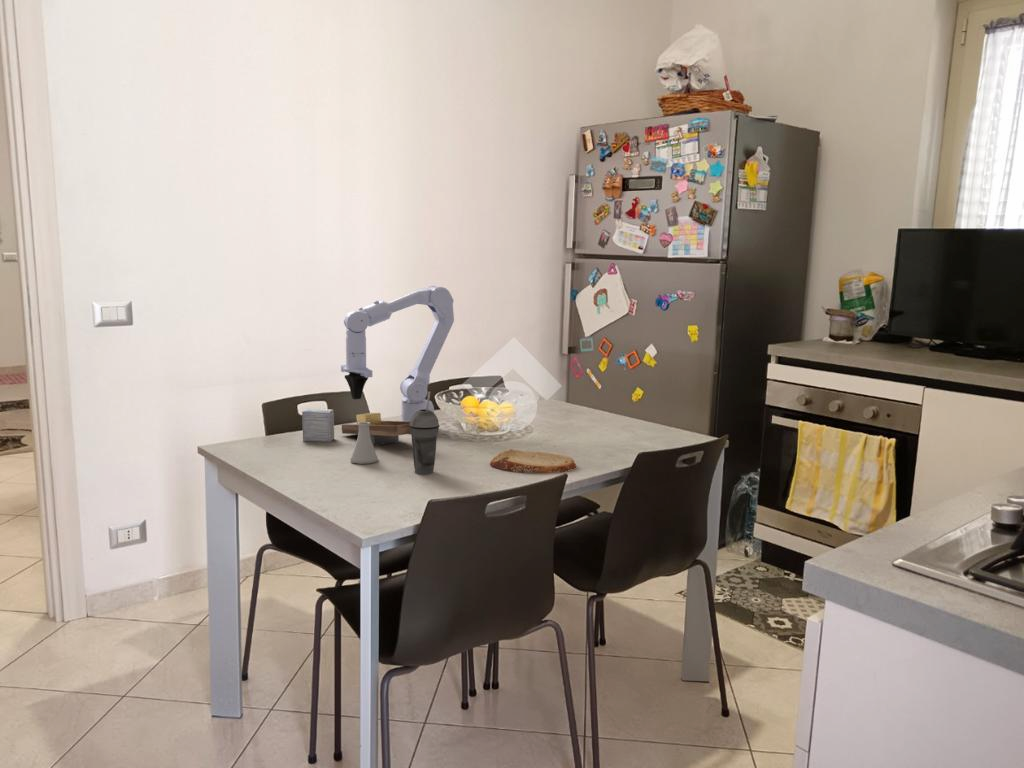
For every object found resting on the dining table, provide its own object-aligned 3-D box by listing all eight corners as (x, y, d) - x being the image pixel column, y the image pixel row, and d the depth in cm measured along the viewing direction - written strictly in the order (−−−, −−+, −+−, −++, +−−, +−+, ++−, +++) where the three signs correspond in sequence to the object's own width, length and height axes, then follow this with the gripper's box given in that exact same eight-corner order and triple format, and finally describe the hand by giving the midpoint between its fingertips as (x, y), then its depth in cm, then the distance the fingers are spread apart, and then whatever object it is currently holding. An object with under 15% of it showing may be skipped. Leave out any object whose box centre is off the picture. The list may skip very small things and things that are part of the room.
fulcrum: (394, 440, 229) (394, 430, 229) (398, 441, 228) (398, 431, 227) (370, 444, 224) (370, 434, 223) (374, 445, 222) (374, 435, 222)
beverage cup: (409, 468, 199) (409, 388, 196) (439, 468, 200) (439, 389, 197) (408, 476, 192) (408, 394, 189) (439, 476, 193) (439, 394, 190)
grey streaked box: (334, 439, 229) (334, 409, 228) (329, 442, 225) (329, 412, 224) (307, 437, 230) (307, 408, 229) (302, 441, 226) (301, 411, 224)
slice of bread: (582, 469, 203) (583, 454, 203) (530, 481, 191) (531, 466, 191) (534, 455, 216) (534, 441, 216) (482, 465, 205) (483, 451, 204)
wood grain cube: (372, 426, 235) (371, 412, 234) (381, 426, 231) (380, 412, 231) (357, 428, 231) (356, 414, 231) (366, 428, 228) (365, 414, 227)
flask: (347, 464, 202) (346, 425, 200) (353, 457, 209) (352, 419, 207) (375, 465, 202) (375, 426, 200) (380, 458, 209) (380, 420, 207)
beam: (372, 429, 240) (371, 420, 240) (425, 431, 219) (425, 421, 218) (342, 433, 233) (341, 424, 233) (394, 436, 212) (394, 426, 212)
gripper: (331, 351, 236) (332, 396, 238) (357, 356, 225) (357, 403, 227) (352, 349, 240) (353, 394, 242) (378, 354, 230) (378, 401, 232)
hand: (356, 398), depth 235 cm, fingers closed
